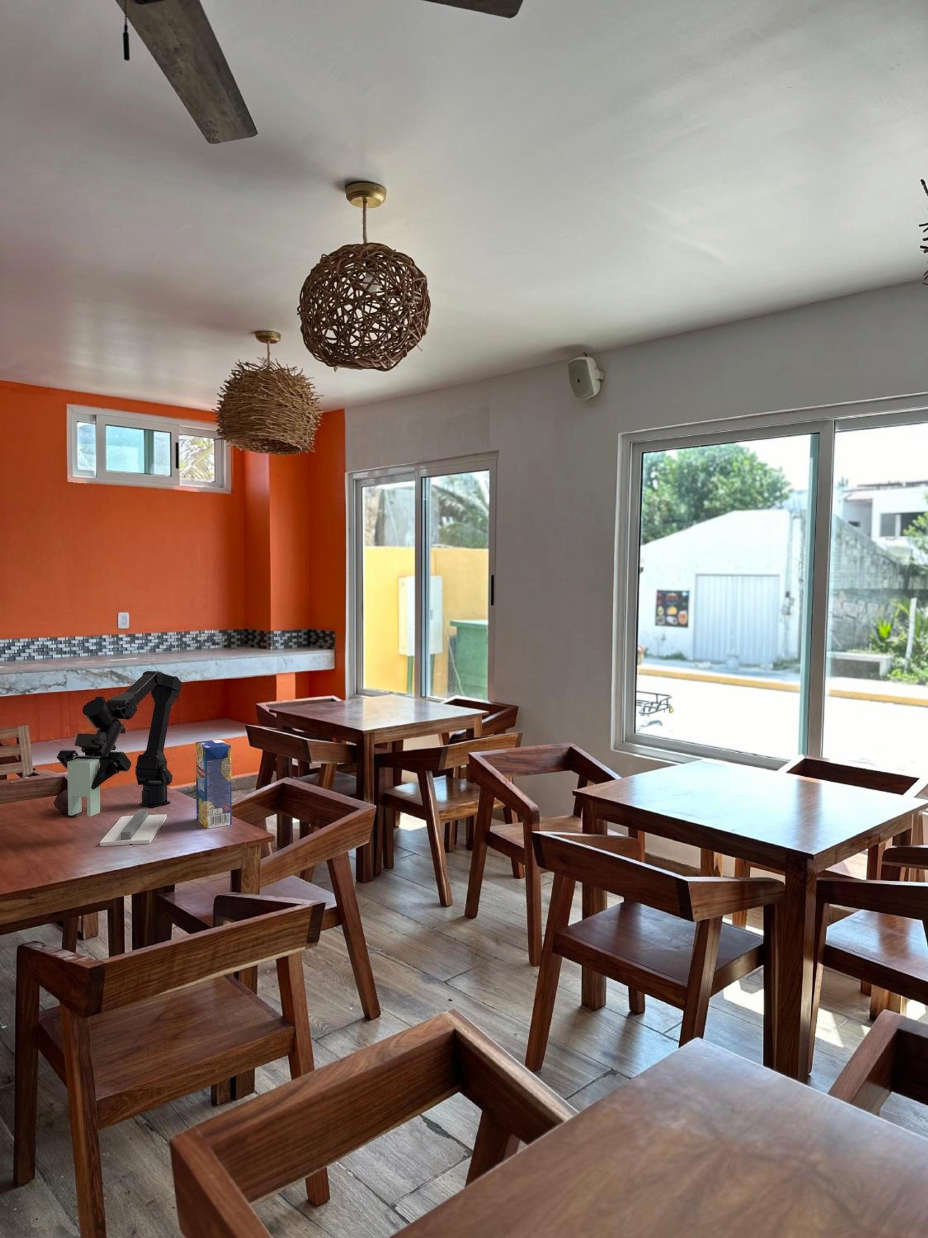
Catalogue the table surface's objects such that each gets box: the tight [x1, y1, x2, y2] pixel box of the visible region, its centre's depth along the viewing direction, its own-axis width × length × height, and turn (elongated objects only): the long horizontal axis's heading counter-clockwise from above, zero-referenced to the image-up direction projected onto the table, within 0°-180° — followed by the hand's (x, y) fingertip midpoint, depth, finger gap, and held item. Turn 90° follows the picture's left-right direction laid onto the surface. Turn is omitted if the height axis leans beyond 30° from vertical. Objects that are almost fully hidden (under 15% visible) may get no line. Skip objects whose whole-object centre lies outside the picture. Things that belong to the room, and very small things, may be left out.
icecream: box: [53, 789, 83, 818], centre depth 240 cm, size 7×7×15 cm
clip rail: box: [99, 808, 167, 847], centre depth 221 cm, size 24×12×3 cm, turn 10°
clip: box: [66, 759, 101, 817], centre depth 215 cm, size 4×6×14 cm, turn 80°
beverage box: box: [195, 739, 233, 829], centre depth 230 cm, size 7×11×22 cm, turn 32°
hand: (80, 788), depth 214 cm, fingers closed on clip, 6 cm apart
